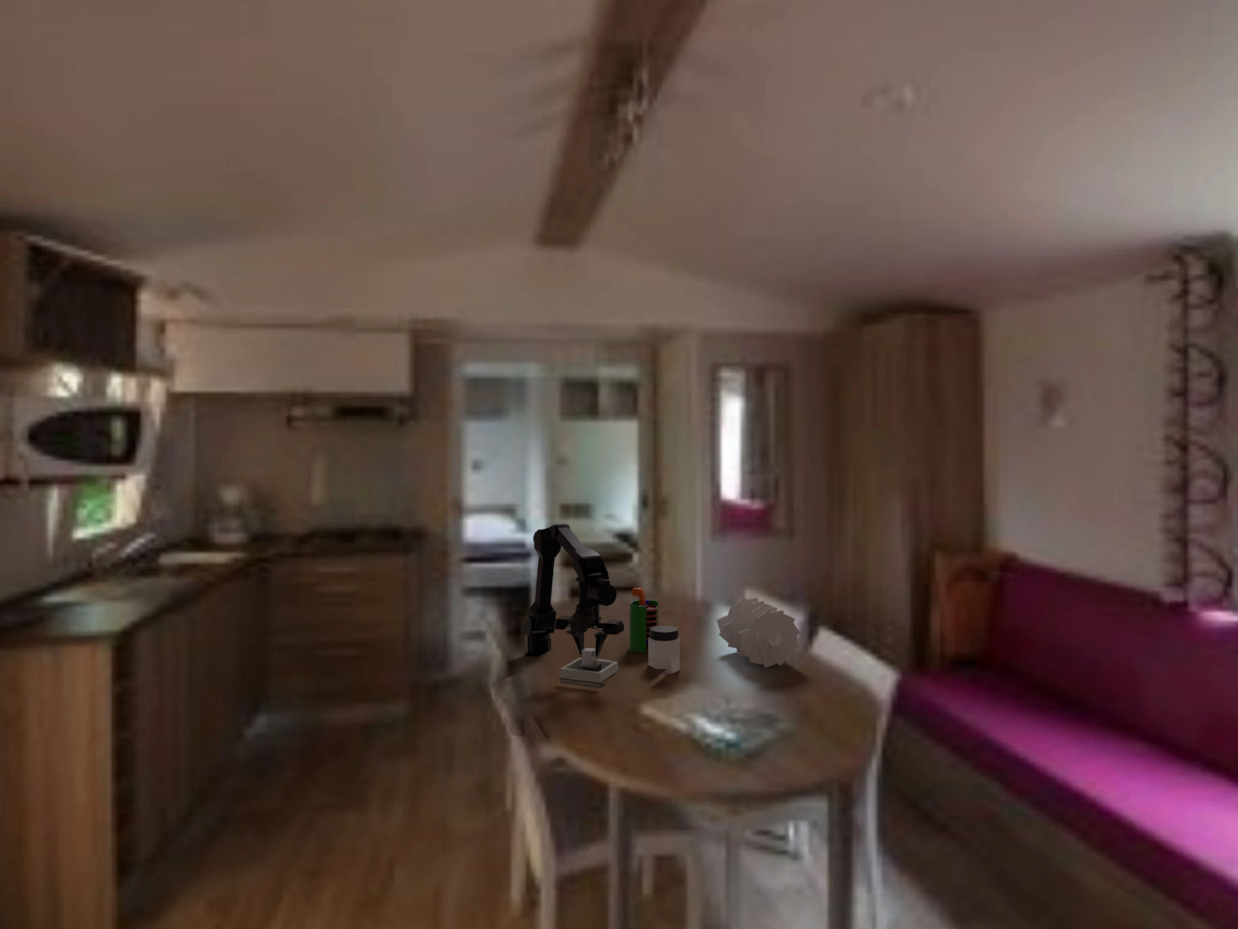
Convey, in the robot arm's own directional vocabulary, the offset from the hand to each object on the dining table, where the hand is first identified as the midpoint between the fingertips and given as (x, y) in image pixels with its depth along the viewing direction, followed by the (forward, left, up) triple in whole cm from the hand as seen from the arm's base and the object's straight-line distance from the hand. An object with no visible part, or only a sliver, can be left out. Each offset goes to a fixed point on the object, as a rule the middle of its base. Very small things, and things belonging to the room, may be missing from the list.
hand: (589, 655), depth 238 cm
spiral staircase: (+38, +37, -7) cm, 53 cm away
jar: (+16, +16, -7) cm, 24 cm away
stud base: (-2, +13, -7) cm, 15 cm away
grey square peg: (0, 0, -6) cm, 6 cm away
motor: (+4, +31, -7) cm, 32 cm away
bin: (0, 0, -7) cm, 7 cm away
